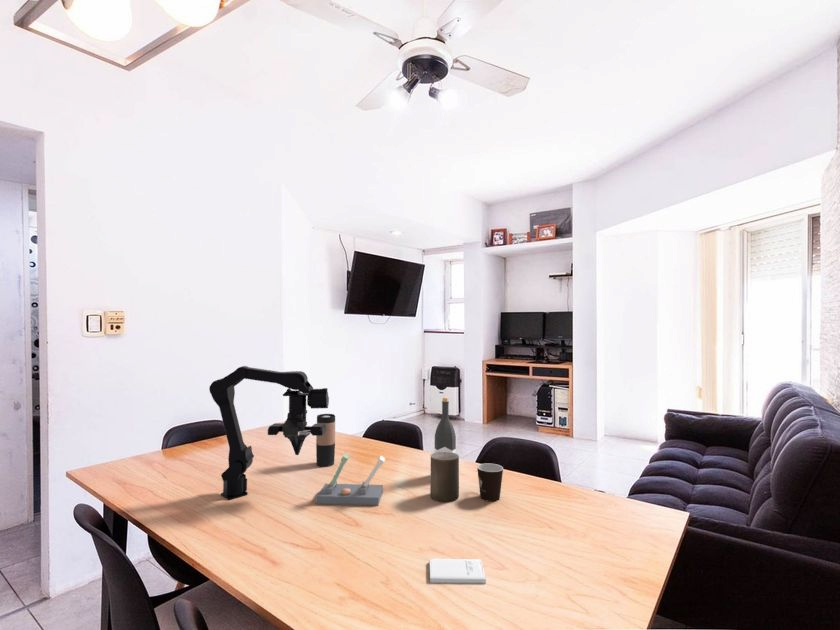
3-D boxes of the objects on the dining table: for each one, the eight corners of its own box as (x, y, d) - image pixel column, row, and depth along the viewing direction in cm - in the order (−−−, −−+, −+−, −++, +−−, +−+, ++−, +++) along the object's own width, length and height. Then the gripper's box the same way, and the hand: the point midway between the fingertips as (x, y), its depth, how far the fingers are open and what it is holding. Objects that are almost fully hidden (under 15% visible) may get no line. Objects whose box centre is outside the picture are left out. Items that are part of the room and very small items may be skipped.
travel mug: (311, 465, 174) (312, 416, 174) (324, 460, 180) (325, 413, 181) (326, 468, 170) (327, 418, 171) (338, 463, 177) (339, 414, 178)
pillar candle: (457, 503, 137) (457, 456, 137) (427, 500, 139) (428, 454, 139) (460, 492, 146) (460, 448, 147) (432, 489, 148) (433, 446, 149)
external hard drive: (429, 564, 102) (480, 564, 102) (430, 585, 94) (486, 585, 94) (429, 557, 103) (480, 558, 102) (430, 577, 94) (486, 578, 94)
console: (316, 503, 136) (316, 490, 136) (325, 490, 147) (325, 478, 147) (378, 505, 135) (378, 492, 135) (382, 492, 146) (382, 479, 146)
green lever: (325, 489, 139) (342, 456, 139) (329, 485, 143) (345, 452, 143) (331, 492, 139) (347, 459, 139) (334, 487, 143) (350, 455, 143)
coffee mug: (503, 504, 137) (503, 472, 137) (476, 501, 139) (476, 470, 139) (503, 490, 148) (503, 461, 149) (478, 488, 150) (478, 460, 150)
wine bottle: (455, 473, 165) (456, 396, 166) (455, 480, 157) (455, 399, 158) (435, 472, 166) (435, 395, 167) (433, 479, 158) (434, 399, 159)
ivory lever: (358, 490, 138) (378, 458, 139) (361, 485, 143) (380, 454, 143) (364, 493, 138) (384, 462, 138) (366, 488, 143) (385, 458, 143)
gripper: (260, 413, 137) (260, 461, 137) (317, 413, 136) (317, 462, 136) (274, 406, 148) (273, 451, 148) (326, 407, 148) (326, 452, 147)
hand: (297, 454), depth 144 cm, fingers closed
